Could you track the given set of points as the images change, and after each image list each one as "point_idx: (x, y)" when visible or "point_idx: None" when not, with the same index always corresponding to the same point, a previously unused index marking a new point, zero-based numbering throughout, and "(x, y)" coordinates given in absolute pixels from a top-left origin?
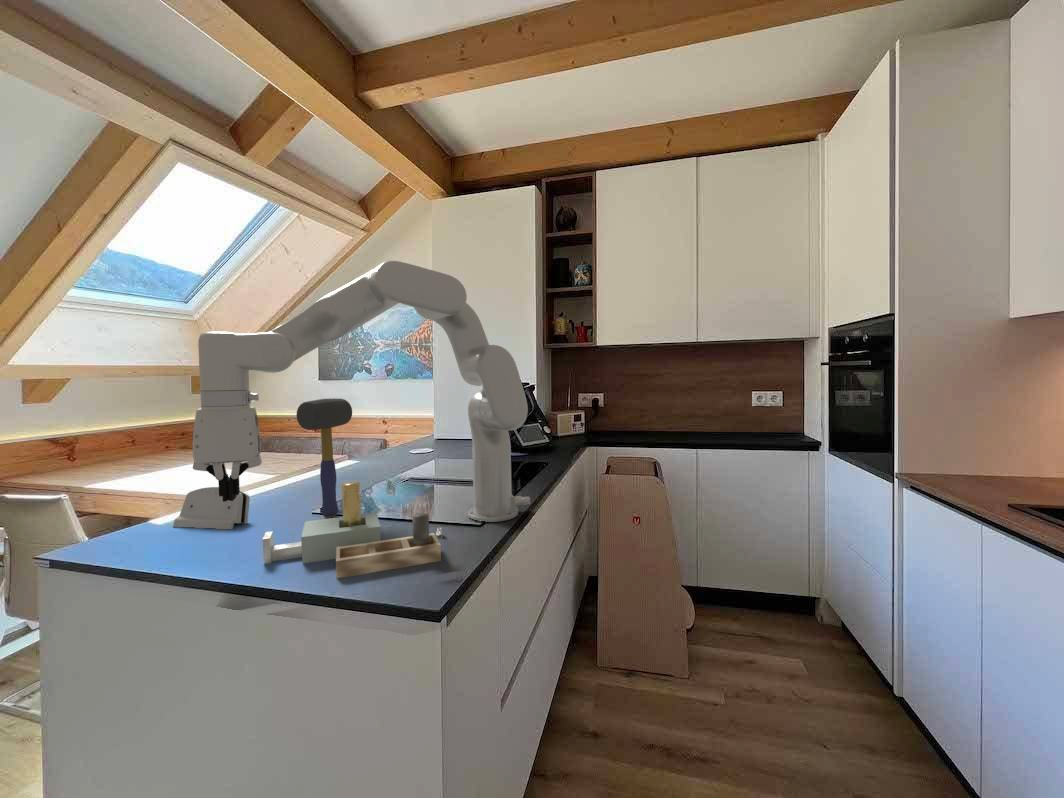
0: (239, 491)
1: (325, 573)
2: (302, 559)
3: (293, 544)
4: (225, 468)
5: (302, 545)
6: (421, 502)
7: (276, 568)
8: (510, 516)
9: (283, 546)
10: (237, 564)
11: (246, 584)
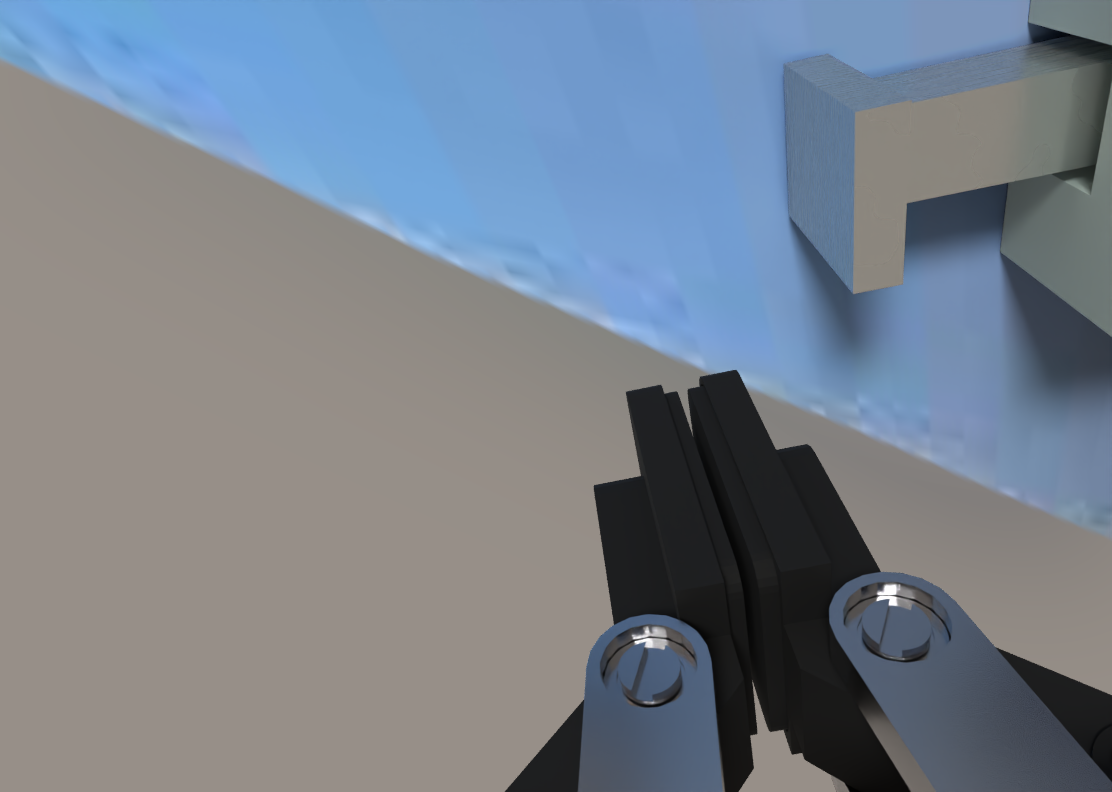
0: (810, 453)
1: (1105, 332)
2: (1031, 275)
3: (1011, 123)
4: (721, 762)
5: (1089, 314)
6: None
7: None
8: None
9: (942, 153)
10: (593, 85)
11: None
